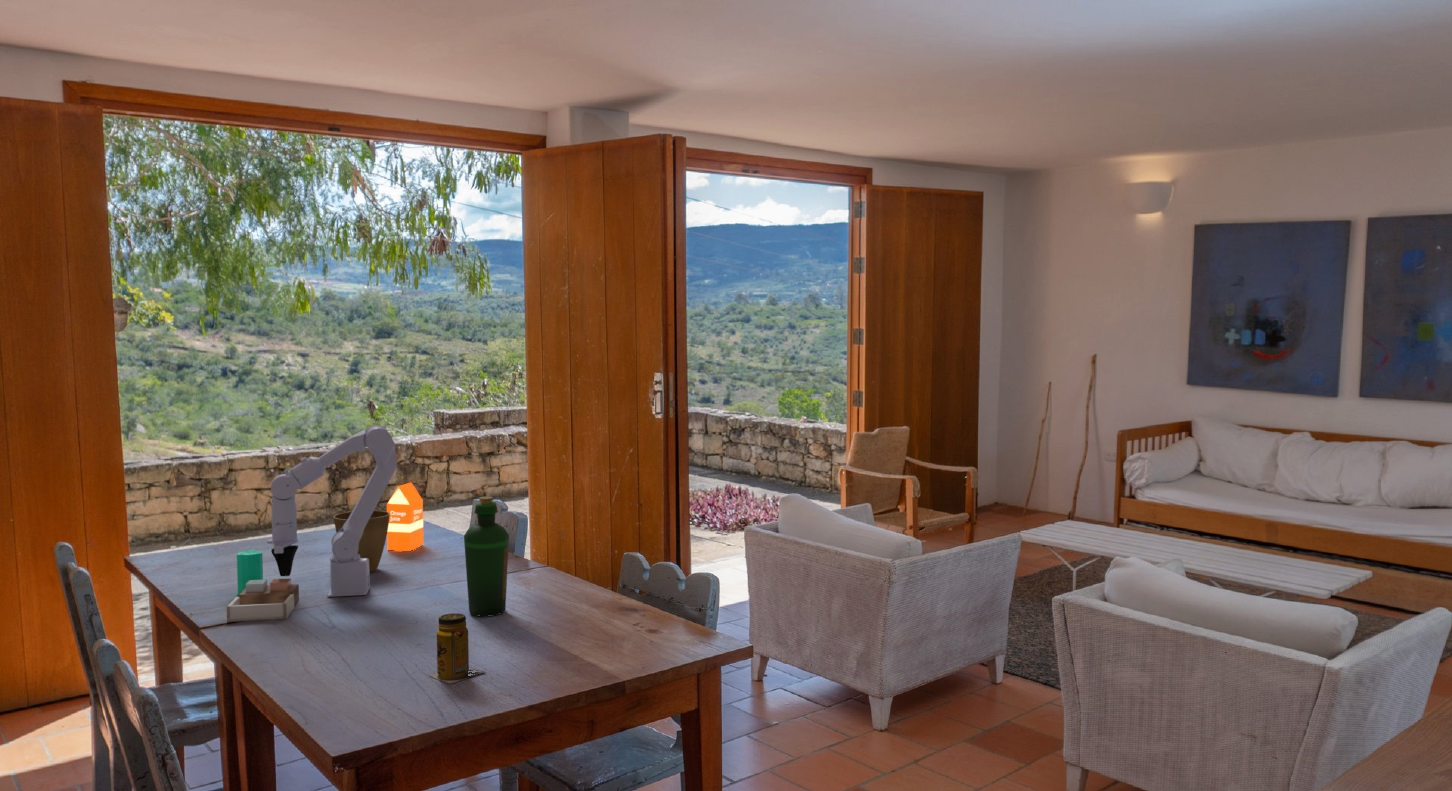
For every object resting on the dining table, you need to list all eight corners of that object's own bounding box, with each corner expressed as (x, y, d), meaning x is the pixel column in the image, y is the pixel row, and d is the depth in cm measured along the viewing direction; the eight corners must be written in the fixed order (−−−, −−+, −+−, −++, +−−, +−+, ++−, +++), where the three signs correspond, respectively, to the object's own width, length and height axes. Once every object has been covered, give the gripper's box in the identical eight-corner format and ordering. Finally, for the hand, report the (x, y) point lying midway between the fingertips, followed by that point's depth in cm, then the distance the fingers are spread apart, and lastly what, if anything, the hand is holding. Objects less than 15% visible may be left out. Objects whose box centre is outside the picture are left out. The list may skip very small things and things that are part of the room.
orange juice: (386, 550, 307) (385, 486, 306) (400, 544, 316) (399, 481, 314) (410, 551, 306) (409, 487, 304) (424, 545, 314) (423, 482, 313)
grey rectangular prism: (267, 587, 249) (267, 579, 248) (263, 591, 245) (263, 583, 245) (249, 588, 248) (249, 580, 248) (245, 592, 244) (245, 584, 244)
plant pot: (402, 568, 285) (401, 513, 284) (357, 579, 272) (356, 521, 271) (367, 561, 293) (366, 507, 292) (323, 572, 280) (322, 515, 279)
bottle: (518, 609, 245) (517, 495, 243) (491, 621, 235) (489, 502, 233) (483, 604, 249) (482, 492, 247) (455, 615, 240) (453, 499, 238)
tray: (294, 608, 244) (294, 594, 244) (286, 618, 236) (286, 603, 236) (236, 611, 242) (236, 596, 241) (227, 621, 233) (226, 606, 233)
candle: (253, 596, 255) (251, 549, 254) (232, 594, 256) (231, 548, 256) (268, 590, 261) (267, 544, 260) (248, 588, 262) (246, 543, 261)
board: (299, 599, 252) (298, 583, 252) (292, 608, 245) (292, 592, 244) (247, 602, 250) (247, 586, 249) (239, 611, 242) (238, 594, 242)
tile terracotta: (291, 586, 250) (290, 578, 250) (287, 590, 246) (287, 582, 246) (273, 587, 249) (273, 579, 249) (270, 591, 245) (269, 583, 245)
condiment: (428, 676, 198) (427, 616, 198) (464, 665, 205) (463, 607, 204) (449, 684, 194) (449, 623, 193) (486, 673, 200) (485, 614, 199)
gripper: (273, 517, 258) (274, 569, 259) (260, 528, 244) (261, 583, 245) (303, 516, 260) (303, 568, 261) (291, 527, 246) (292, 582, 247)
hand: (285, 575), depth 253 cm, fingers closed
